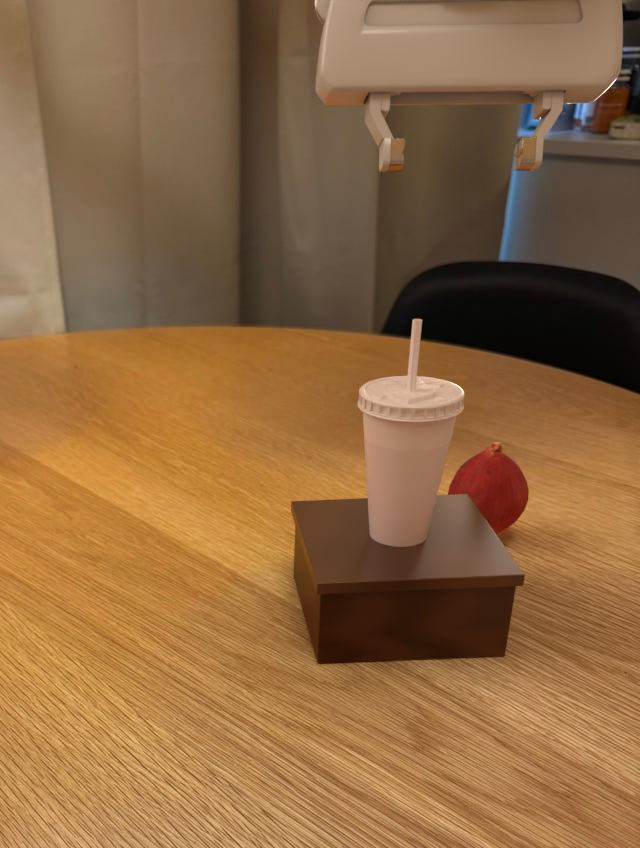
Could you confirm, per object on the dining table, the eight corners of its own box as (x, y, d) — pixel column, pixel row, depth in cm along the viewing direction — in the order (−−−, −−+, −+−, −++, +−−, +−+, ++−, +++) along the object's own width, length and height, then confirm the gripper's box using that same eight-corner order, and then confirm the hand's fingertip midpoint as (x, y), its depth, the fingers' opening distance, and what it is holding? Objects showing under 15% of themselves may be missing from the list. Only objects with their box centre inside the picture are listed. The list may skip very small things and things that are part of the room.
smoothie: (342, 550, 64) (355, 329, 57) (355, 511, 70) (369, 303, 62) (445, 560, 63) (472, 333, 56) (451, 519, 68) (477, 306, 61)
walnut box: (458, 568, 75) (468, 493, 72) (511, 658, 64) (525, 574, 61) (288, 575, 75) (291, 500, 72) (313, 666, 64) (317, 583, 61)
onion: (428, 538, 79) (438, 441, 75) (472, 517, 82) (484, 422, 78) (492, 562, 75) (506, 461, 71) (535, 539, 78) (552, 440, 74)
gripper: (321, -71, 65) (314, 157, 68) (642, -77, 64) (624, 154, 67) (310, -25, 71) (305, 182, 74) (603, -29, 71) (588, 180, 73)
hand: (459, 169), depth 70 cm, fingers open, 8 cm apart
